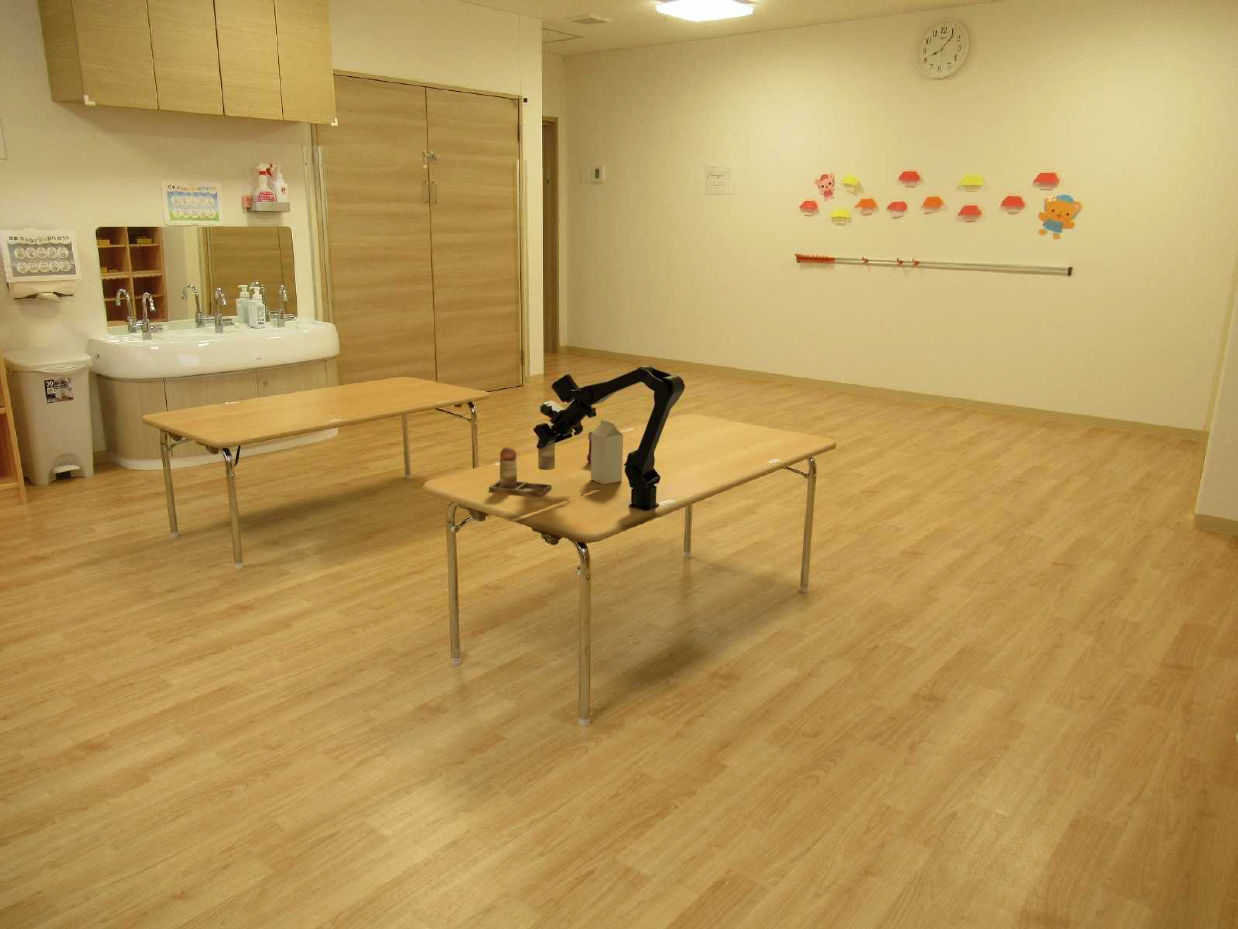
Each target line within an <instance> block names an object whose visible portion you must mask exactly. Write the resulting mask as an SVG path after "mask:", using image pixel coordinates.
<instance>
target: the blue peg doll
mask: <svg viewBox="0 0 1238 929" xmlns="http://www.w3.org/2000/svg"><path fill="white" fill-rule="evenodd" d="M538 441H539V437H538V439H537V442H538ZM555 451H556V443H553V444H550V445H548V446H545V447H543V448H540V449H538V448H537V454H538V455H537V460H538V461H537V469H538V470H542V471H550V470H554V469H555V468H556V466H555V464H556V460H555V459H556V455H555V454H556V452H555Z"/></svg>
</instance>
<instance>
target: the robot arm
mask: <svg viewBox="0 0 1238 929" xmlns="http://www.w3.org/2000/svg"><path fill="white" fill-rule="evenodd" d="M639 383H643V384H644V385H645V386H646V387H647V388H648V389H650V390H651V391H653V402H654V404H653V409H652V411H651V413H650V416H649V419H648V421H647V424H646V425H645V426H646V427H645V430H644V432H643V435H642V437H641V440H640V443H639V445H638V448H637V449H635V450H633V451H631V452H629V453H628V454H627V456H626V457H627V458H626V461H625V462H624V464H623V466H624V474H625V476H626V477H627V481H628V484H629V487H630V488H631V490H630V503H629V504H628V507H631V508H634V507H635V508H636V509H639V510H643V511H650V510H652V509H653V508H654V509H655V508H656V507H659V506H660V503H657V488H658V486H657V485H658V484H660V481H661V478H662V476H661V475H660V474H659V473H658V472H657V471H656V469H655V468H654V467H655V463H656V458H655V451H656V449H657V445H658V443H659V441H660V438H661V435H662V432H663V430H664V428H665V425H666V422H667V420H668V416H669V414H670V412H671V409H672V408H673V407H674V406H675V404H676V403H677V402H678V401H679V399H680V398H681V396H682V395H683V393H684V391H685V389H686V385H685V382H684V380H683V378H682V377H681V376H679V375H676V374H673V375H672V374H670V373H669V372H666V371H662V370H660V369H657V368H655V367H653V366H651V365H648V364H647V365H643V366H639V367H637V368H636V369H633V370H632V371H629V372H626V373H625V374H621V375H620V376H617V377H615V378H613V379H610V380H607V381H601V382H597V383H593V384H589V385H585V386H582V387H579V386H578V385H577V383H576V382H575V380H574V379H573V377H572V375H571V374H570V373H567V374H564V375H563V376H562V377H560V378H559V379H557V380H555V381H554V382H553V383H552V384H551V386H550V387H551V389H552V391H553V392H554V393H555V394H556V396H557V398H559V400H560V401H561V403H567V404H569V405H568V406H567V407H566V408H564V407H563V406H562V405H560V404H559V403H558V402H555V401H554V400H548V401H545V402H544V403H542V405H540V406H539V411H540V414H542V415H544V416H546V417H549V422H550V424H552V425H549V424H548V423H545V422H542V423H539V424H536V426H534V428H533V429H532V430H533V432H534V434H536V437H538V438H539V441H538V440H537V444H536V448H537V450H538V449H540V448H543V447H545V446H548V445H550V444H553V443H555V444H558V443H560V442H563V441H565V440H568V439H571V438H573V437H574V436H578V435H580V434H582V432H583V431H584V427H583V425H582V420H584V419H585V418H586V417H587V418H588V419H592V418H595V417H596V416H597V411H596V410H597V408H596V407H593V405H597V404H600V403H604V402H605V401H606V400H608V399H610V398H611V397H612V396H614V394H616V393H618V392H621V391H622V390H625V389H628V388H630V387H632V386H635V385H638V384H639ZM572 433H573V434H572Z"/></svg>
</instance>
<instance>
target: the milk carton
mask: <svg viewBox="0 0 1238 929" xmlns="http://www.w3.org/2000/svg"><path fill="white" fill-rule="evenodd" d="M591 432H592V438H591V464H590V479H591V480H592V481H595V482H597V483H599V484H601V485H608V484H613V483H618V482H619V483H620V482H623V457H624V456H623V454H624V453H623V451H624V450H623V449H624V434H623V433H621V431H620V430H618V427H617V425H615V423H614V422H611V421H608V420H605V419H600V423H599V424H598V425H597V426H596V427H595V428H594V430H593V431H591Z"/></svg>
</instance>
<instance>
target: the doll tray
mask: <svg viewBox="0 0 1238 929" xmlns="http://www.w3.org/2000/svg"><path fill="white" fill-rule="evenodd" d="M552 486H553V485H552V484H548V483H547V484H545V483H537V482H536V483H535V482H528V481H518V480H517V488H516V489H509V488H500V479H499V480H497V481H496V482H494V483H493V484H491V485H490V486H489V487H488V491H489V492H494V493H502V494H512V495H519V496H520V495H521V496H529V497H537V498H538V497H539V498H542V497H543V496H545V495H546V494H547V493H549V492H550V491H551V490H552Z"/></svg>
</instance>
